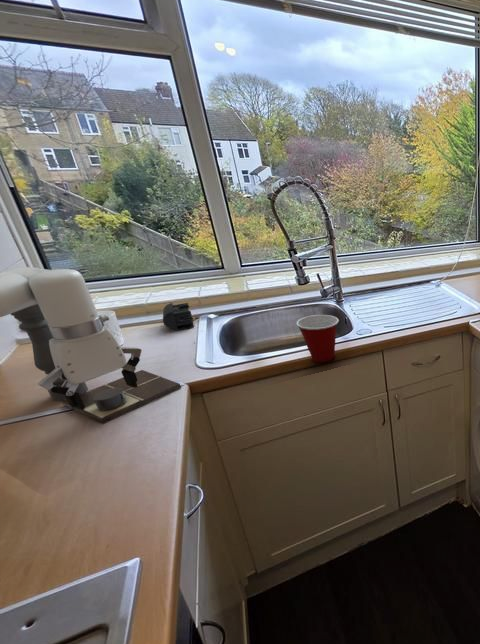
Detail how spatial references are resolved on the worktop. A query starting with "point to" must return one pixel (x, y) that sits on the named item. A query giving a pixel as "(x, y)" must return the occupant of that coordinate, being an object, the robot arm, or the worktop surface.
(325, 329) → the plastic cup
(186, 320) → the end cap
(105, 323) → the white cup
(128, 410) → the grid board
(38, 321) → the candle holder
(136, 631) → the worktop surface
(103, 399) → the slate stone
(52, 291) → the robot arm
